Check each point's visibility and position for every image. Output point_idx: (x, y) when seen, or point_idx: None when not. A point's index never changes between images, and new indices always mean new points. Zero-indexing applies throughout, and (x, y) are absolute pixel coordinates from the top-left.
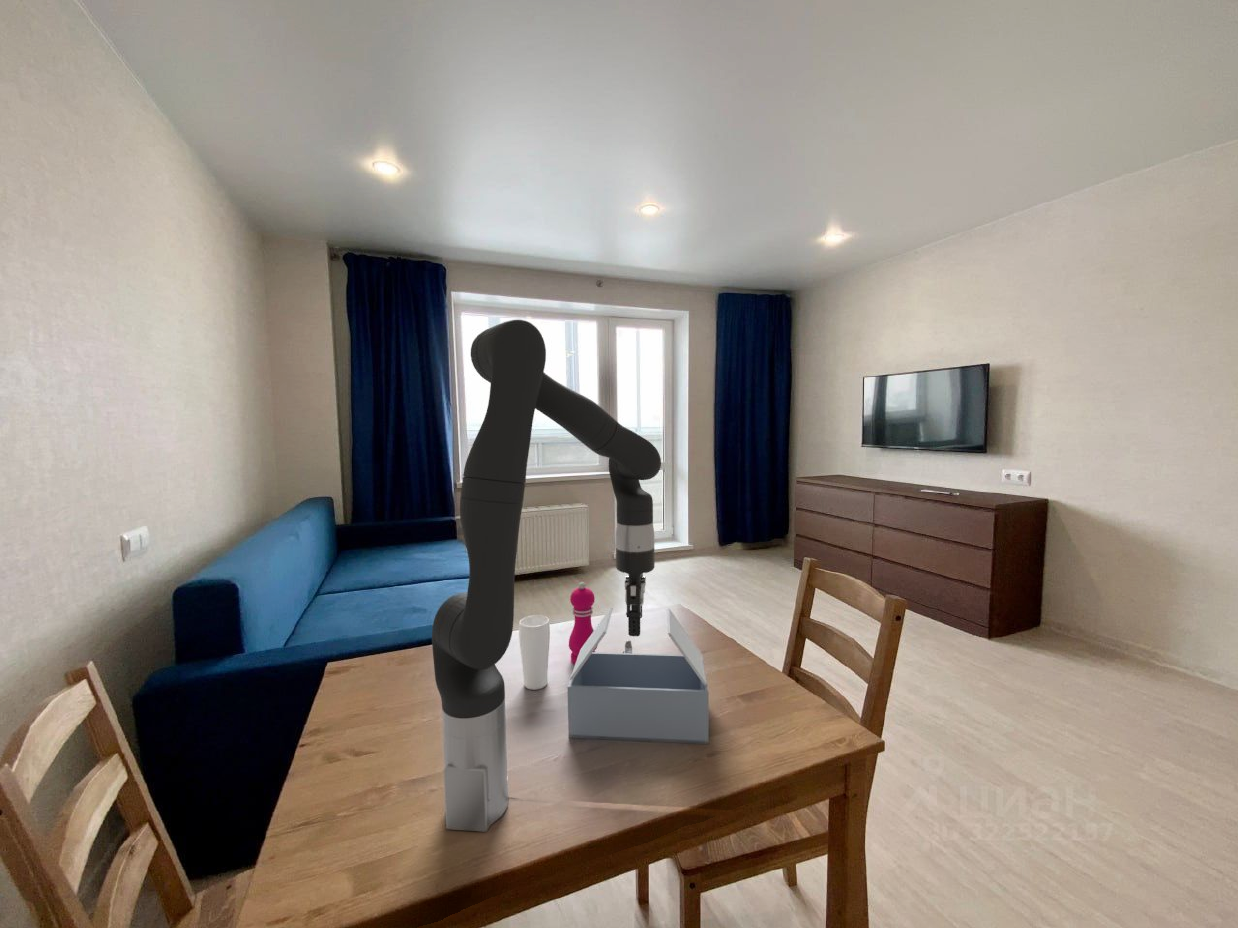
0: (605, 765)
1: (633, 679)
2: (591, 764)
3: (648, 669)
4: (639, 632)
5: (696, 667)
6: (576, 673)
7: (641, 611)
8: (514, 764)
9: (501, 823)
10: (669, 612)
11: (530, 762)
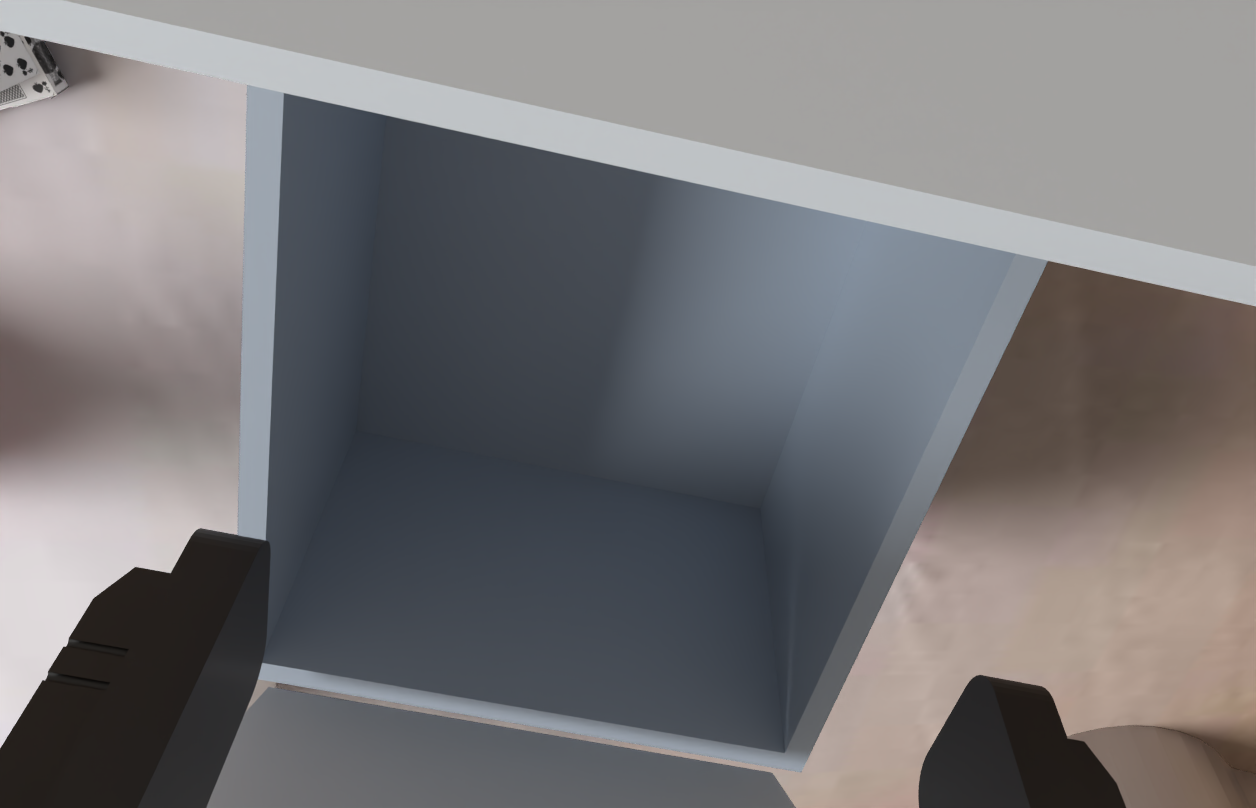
0: (1075, 356)
1: (350, 143)
2: (1037, 423)
3: None
4: (1051, 725)
5: None
6: (788, 800)
7: (221, 628)
8: (911, 714)
9: (1246, 738)
10: (246, 30)
11: (919, 663)
